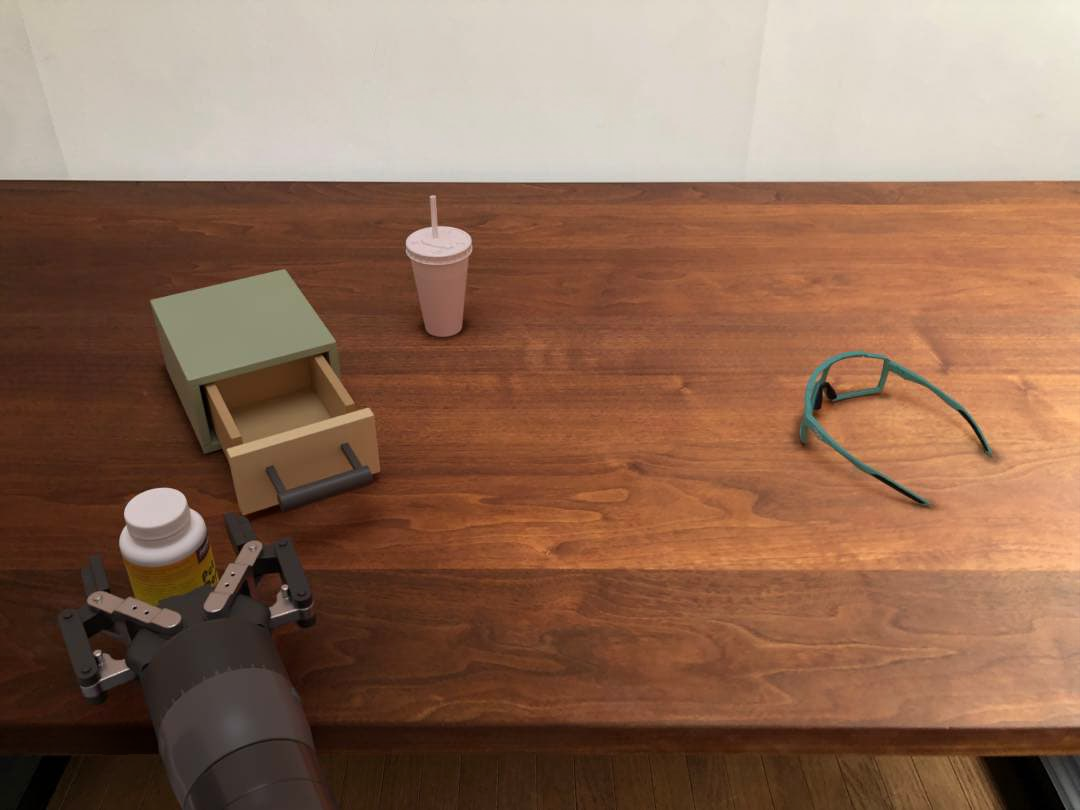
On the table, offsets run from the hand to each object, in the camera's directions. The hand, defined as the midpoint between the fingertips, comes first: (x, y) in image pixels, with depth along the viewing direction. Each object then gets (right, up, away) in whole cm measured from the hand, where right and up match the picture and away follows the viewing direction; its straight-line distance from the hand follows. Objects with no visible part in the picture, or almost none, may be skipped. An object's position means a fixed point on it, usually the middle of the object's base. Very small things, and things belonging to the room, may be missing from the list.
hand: (165, 542), depth 69 cm
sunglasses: (+54, +6, +22) cm, 59 cm away
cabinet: (-2, +10, +28) cm, 30 cm away
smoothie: (+15, +17, +37) cm, 43 cm away
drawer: (+4, +4, +18) cm, 19 cm away
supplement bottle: (-1, -6, +6) cm, 8 cm away
